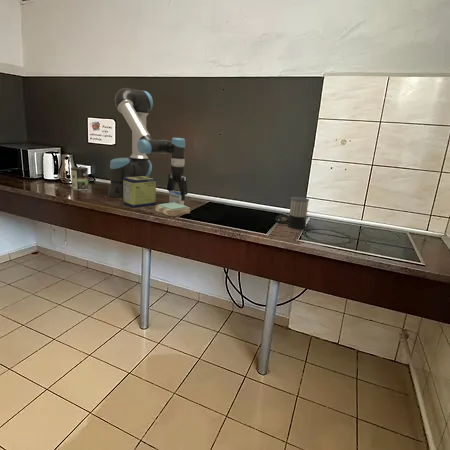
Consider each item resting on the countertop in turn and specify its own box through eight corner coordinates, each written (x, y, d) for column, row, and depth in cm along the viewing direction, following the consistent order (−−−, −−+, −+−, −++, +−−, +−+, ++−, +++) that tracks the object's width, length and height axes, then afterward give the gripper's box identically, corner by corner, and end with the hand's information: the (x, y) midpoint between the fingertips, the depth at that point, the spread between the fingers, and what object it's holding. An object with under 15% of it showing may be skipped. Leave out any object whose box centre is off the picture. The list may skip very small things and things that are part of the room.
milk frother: (305, 230, 166) (309, 201, 162) (274, 226, 169) (277, 197, 164) (304, 223, 179) (308, 196, 175) (275, 219, 182) (278, 193, 178)
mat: (157, 205, 180) (157, 204, 180) (173, 203, 188) (173, 202, 188) (171, 210, 173) (171, 209, 173) (187, 207, 181) (187, 206, 181)
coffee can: (91, 188, 227) (90, 167, 223) (84, 191, 217) (83, 169, 213) (76, 187, 227) (75, 166, 223) (69, 189, 217) (67, 168, 213)
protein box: (156, 204, 195) (156, 178, 191) (133, 207, 184) (133, 180, 180) (145, 201, 202) (145, 175, 198) (122, 204, 191) (122, 177, 186)
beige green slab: (155, 210, 181) (155, 205, 180) (173, 207, 191) (173, 202, 190) (171, 216, 172) (171, 210, 172) (190, 213, 182) (190, 207, 181)
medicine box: (168, 205, 196) (169, 190, 193) (173, 204, 199) (173, 189, 197) (179, 207, 192) (180, 192, 190) (184, 206, 196) (184, 191, 194)
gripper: (161, 163, 193) (160, 201, 200) (185, 168, 180) (183, 208, 186) (171, 163, 199) (170, 200, 205) (195, 168, 185) (193, 207, 191)
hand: (176, 204), depth 196 cm, fingers closed on medicine box, 9 cm apart
